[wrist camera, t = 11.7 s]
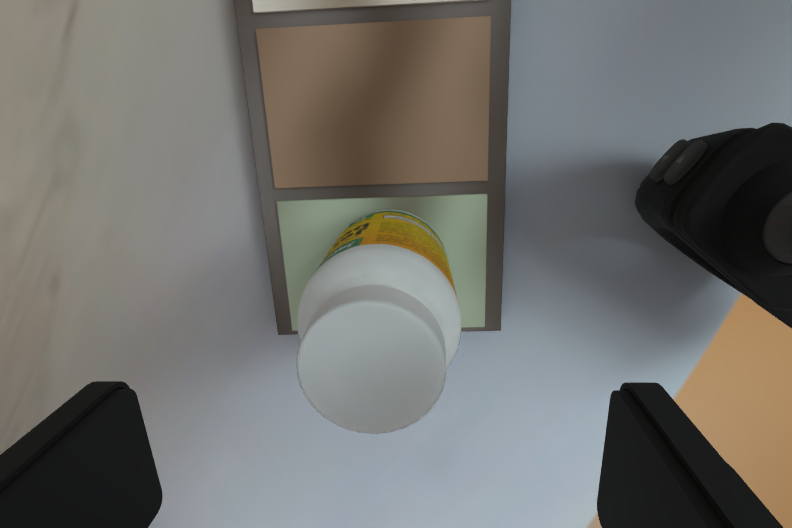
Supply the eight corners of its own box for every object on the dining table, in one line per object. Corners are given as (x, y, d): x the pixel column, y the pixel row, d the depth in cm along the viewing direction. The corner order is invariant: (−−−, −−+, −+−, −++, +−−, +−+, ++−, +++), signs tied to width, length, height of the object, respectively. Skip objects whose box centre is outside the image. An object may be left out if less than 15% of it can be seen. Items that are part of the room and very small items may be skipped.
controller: (641, 106, 20) (852, 94, 10) (835, 263, 21) (1171, 379, 12) (574, 187, 21) (706, 245, 11) (763, 330, 23) (1017, 485, 13)
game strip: (512, -200, 17) (519, -224, 16) (497, 321, 23) (501, 332, 22) (219, -177, 17) (205, -198, 16) (283, 326, 24) (277, 336, 22)
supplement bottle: (410, 335, 22) (405, 487, 13) (313, 282, 22) (235, 402, 12) (470, 243, 21) (513, 342, 11) (368, 183, 20) (326, 237, 11)
